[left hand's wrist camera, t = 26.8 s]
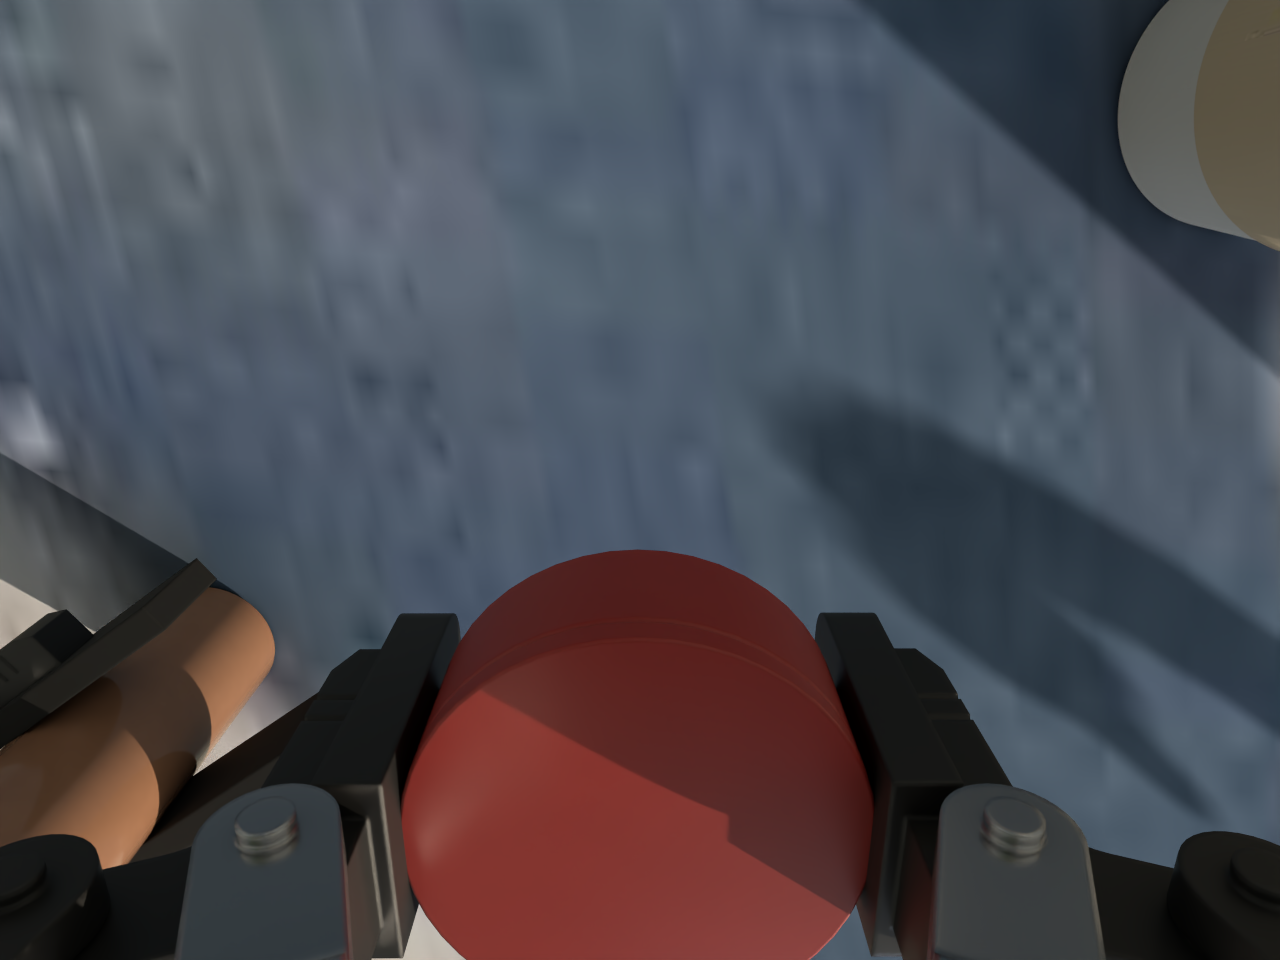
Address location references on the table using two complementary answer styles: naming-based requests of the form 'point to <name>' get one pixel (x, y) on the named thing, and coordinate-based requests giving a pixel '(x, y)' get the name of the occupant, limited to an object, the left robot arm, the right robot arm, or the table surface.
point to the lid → (637, 773)
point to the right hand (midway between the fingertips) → (249, 662)
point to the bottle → (136, 732)
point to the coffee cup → (1207, 115)
